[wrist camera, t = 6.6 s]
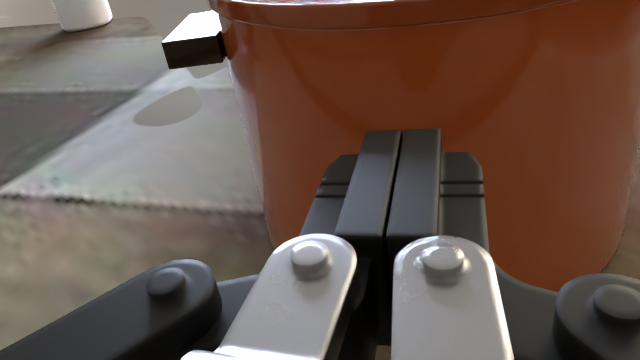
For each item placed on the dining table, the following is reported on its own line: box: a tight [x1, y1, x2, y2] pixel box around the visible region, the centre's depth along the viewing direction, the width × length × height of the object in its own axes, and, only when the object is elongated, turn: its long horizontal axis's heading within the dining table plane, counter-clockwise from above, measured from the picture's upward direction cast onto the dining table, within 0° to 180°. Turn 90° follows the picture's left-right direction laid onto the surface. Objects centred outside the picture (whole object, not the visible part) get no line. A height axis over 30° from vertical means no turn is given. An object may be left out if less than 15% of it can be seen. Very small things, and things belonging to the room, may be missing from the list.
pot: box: [162, 0, 640, 292], centre depth 21 cm, size 19×15×12 cm
